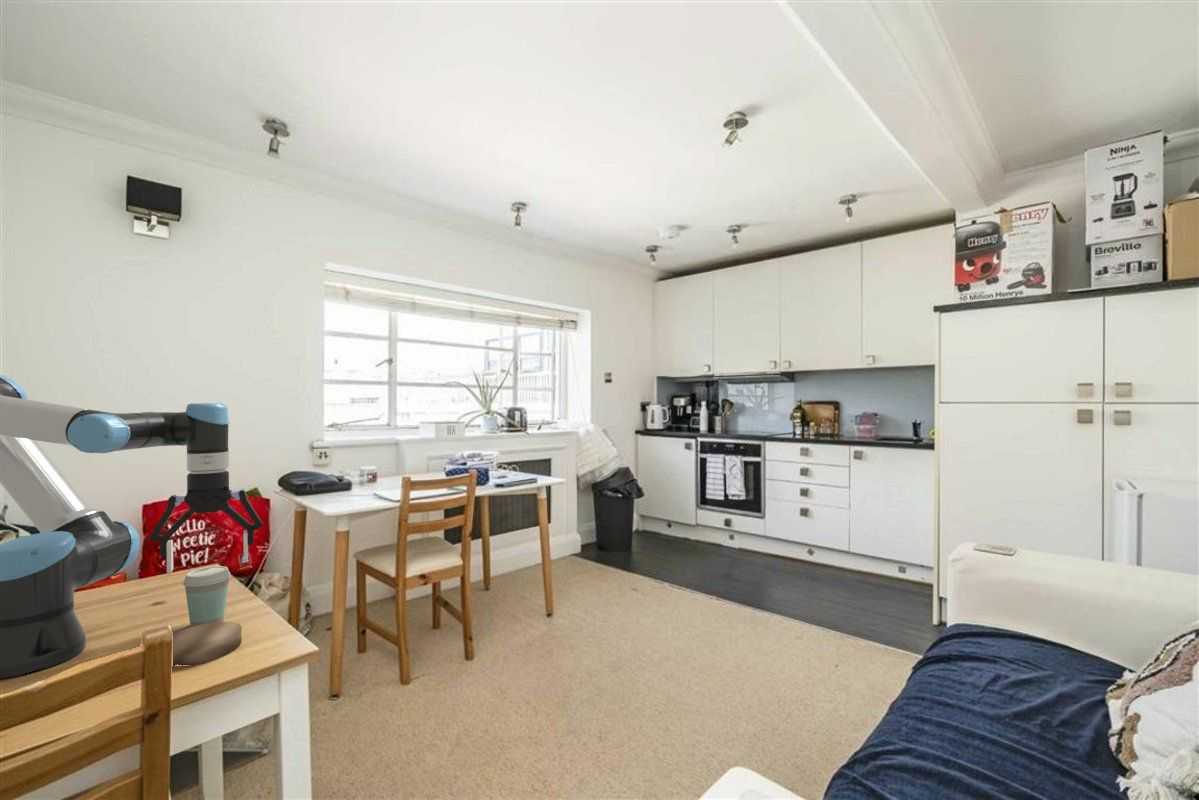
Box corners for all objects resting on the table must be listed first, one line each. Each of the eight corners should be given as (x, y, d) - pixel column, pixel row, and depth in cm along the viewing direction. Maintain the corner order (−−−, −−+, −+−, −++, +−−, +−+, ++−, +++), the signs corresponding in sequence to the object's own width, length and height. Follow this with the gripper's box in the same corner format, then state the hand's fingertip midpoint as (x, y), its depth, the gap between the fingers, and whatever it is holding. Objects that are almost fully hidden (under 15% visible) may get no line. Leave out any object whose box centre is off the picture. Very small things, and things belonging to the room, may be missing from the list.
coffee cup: (224, 613, 121) (224, 562, 121) (235, 623, 115) (236, 570, 115) (178, 625, 114) (178, 572, 114) (188, 636, 109) (188, 580, 109)
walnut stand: (145, 671, 94) (145, 655, 94) (178, 640, 107) (178, 626, 107) (227, 660, 99) (228, 645, 99) (250, 632, 111) (250, 618, 111)
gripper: (130, 478, 105) (131, 581, 105) (274, 468, 119) (275, 559, 119) (138, 474, 111) (138, 571, 111) (273, 465, 125) (274, 551, 125)
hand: (209, 565), depth 115 cm, fingers open, 13 cm apart
